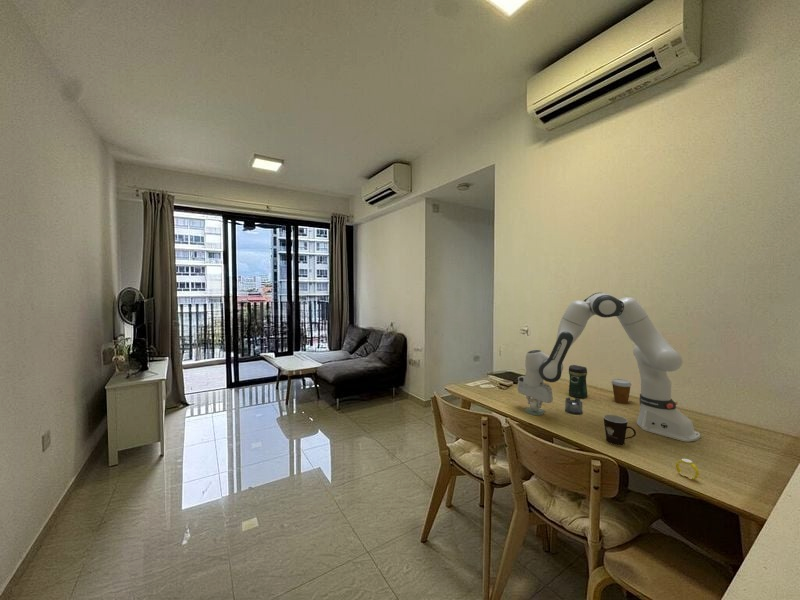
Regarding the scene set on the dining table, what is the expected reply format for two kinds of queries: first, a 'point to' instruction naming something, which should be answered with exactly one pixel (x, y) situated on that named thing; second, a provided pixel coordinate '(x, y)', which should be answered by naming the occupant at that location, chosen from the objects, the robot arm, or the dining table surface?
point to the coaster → (534, 411)
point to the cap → (534, 404)
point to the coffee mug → (616, 429)
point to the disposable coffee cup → (621, 390)
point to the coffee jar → (578, 381)
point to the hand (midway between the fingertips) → (534, 405)
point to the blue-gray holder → (573, 406)
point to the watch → (687, 463)
